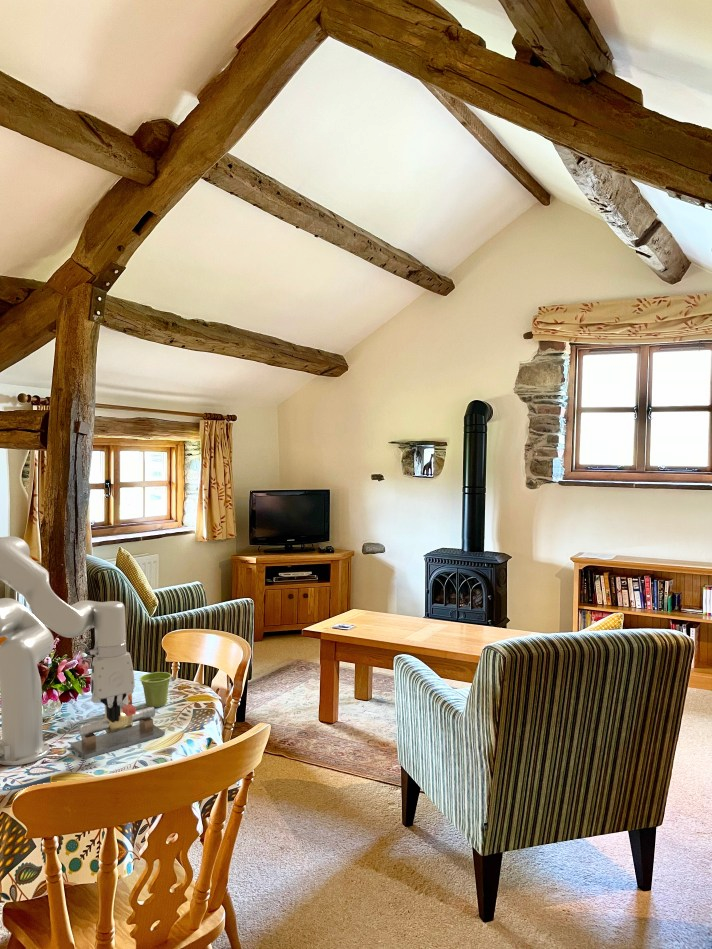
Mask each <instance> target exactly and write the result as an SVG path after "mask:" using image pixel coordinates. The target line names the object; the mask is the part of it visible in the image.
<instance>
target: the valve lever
mask: <svg viewBox="0 0 712 949" xmlns="http://www.w3.org/2000/svg"><path fill="white" fill-rule="evenodd" d="M120 708H121V709H122V710H123V714H125V715H126V716H131V715H134V714H136V711H137V710H136V709H137V708H136V707H135V706H134V705H133V704H132V705H131V704H129V705H126V704H125V703H123V702H122V704H121V705H120Z"/></svg>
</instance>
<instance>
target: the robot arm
mask: <svg viewBox="0 0 712 949" xmlns="http://www.w3.org/2000/svg"><path fill="white" fill-rule="evenodd" d="M30 553H31V549H30V546H29V544H28V543H27V542H26V541H25V540H24V539H23V538H20V537H18V536H14V535H13V536H12V535H10V536H3V537H2V536H1V537H0V581H1V582H3V584H5V585H6V586H8V587H9V588H11V589H12V590H13V591H14V592H16V593H18V594H19V595H20V596H21V597H22V598H23V599H24V600H25V603H26V604H27V606H28V607H26V606H25V605H24V604H23V603H22V602H20V601H18V600H16V599H14V598H11V597H3V598H0V639H1V638H3V637H4V638H5V640H4V641H3V642H1V644H0V710H1V711H0V712H1V713H0V715H1V717H0V718H1V739H0V765H4V766H20V765H25V764H31V763H33V762H37V761H39V760H41V759H43V758H45V757H46V756H47V755H48V754H49V753H50V750H51V749H50V747H51V746H50V745H49V744H48V743H47V742H45V741H44V740H43V739H44V733H43V730H44V729H43V703H42V702H43V699H42V698H43V697H42V696H43V695H42V693H43V692H42V678H41V676H40V673H39V668H38V664H39V663H40V662H41V661H42V660H44V659H46V658H47V657H48V656H49V655H51V652H53V648H54V646H55V641H54V640H55V638H54V636H53V633H52V632H51V631H53V632H55V633H56V634H57V635H58V636H61V637H64V638H70V639H73V638H76V637H78V636H80V635H82V634H83V633H84V632H86V631H88V630H91V629H94V641H95V642H94V648H93V649H90V650H89V654H90V656H94V657H93V658H92V662H91V663H92V664H91V670H90V692H91V698H90V700H91V702H92V703H94V704H100V703H102V704H104V706H105V705H106V713H107V719H109V720H110V721H111V722H112V723H113V722H115V721H119V716H120V705H121V704H122V701H123V700H124V698H125V697H126V696H128V695H130V694H132V695H133V693H134V690H135V686H136V685H135V684H136V683H135V674H134V667H133V662H132V661H133V659H132V657H131V654H130V652H128V651H127V632H126V631H127V630H126V607H125V604H124V602H121V601H118V600H115V601H114V600H109V601H108V600H107V601H103V602H102V601H94V600H87V599H85V600H80V601H79V600H78V601H77V602H75V603H73V604H72V605H69V603H66V602H65V601H64V600H62V599H61V598H60V597H59V596H58V595H57V594H56V593H55V591H54V590H53V589H52V587H51V584H50V572H49V571H48V570H47V569H46V568H45V567H43V566H42V565H41V564H40V563H38V562H36V561H35V560H34V559H32V557H30ZM28 608H29V609H28ZM113 696H114V698H113V703H112V698H111V697H113Z"/></svg>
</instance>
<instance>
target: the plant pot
mask: <svg viewBox="0 0 712 949" xmlns="http://www.w3.org/2000/svg"><path fill="white" fill-rule="evenodd" d="M171 678H172V674H171V673H170V672H167V671H164V672H163V671H155V672H149V673H146V674H143V675H142V676H140V678H139V681H140V682H141V685H142V687H143V688H142V689H143V692H144V699H145V705H146V706H147V708H148V707H154V708H155V707H157V708H158V707H159V708H161V707H163V706H166V704H167V703H168V695H169V694H168V693H169V685H170V683H171ZM160 706H161V707H160Z"/></svg>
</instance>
